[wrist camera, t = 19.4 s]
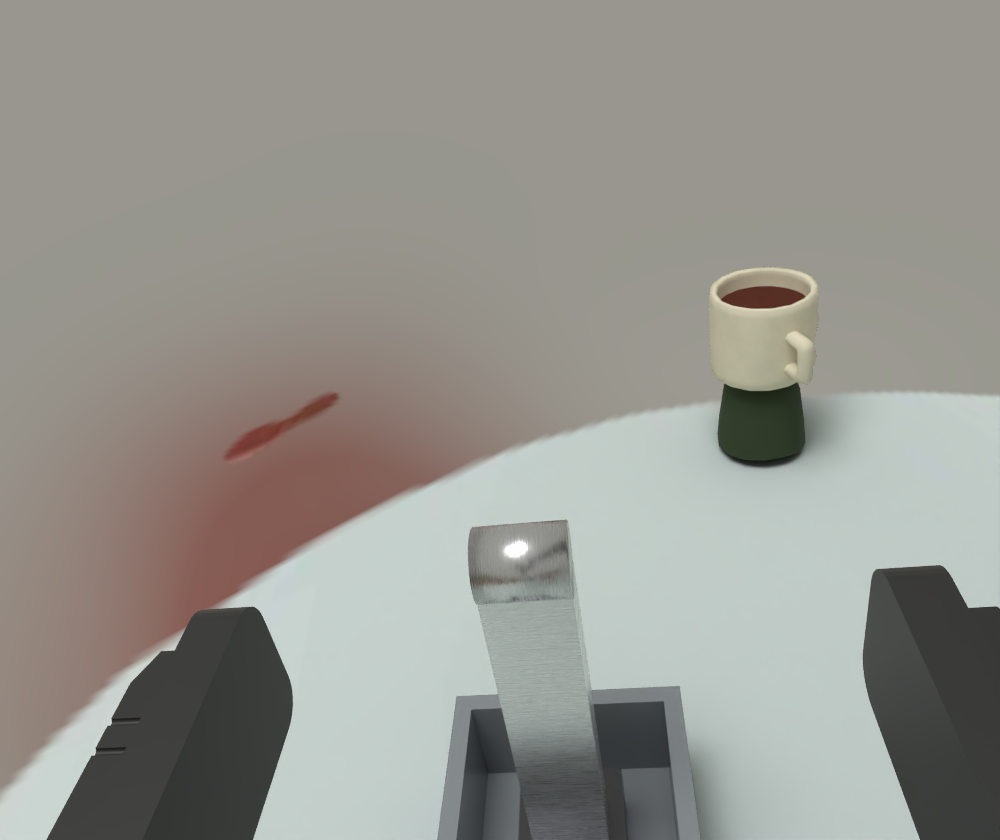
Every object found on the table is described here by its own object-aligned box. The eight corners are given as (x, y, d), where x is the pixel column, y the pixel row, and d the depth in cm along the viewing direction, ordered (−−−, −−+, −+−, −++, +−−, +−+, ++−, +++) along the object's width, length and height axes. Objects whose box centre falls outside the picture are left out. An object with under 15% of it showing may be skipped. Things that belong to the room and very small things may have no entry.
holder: (477, 771, 44) (456, 696, 40) (684, 764, 42) (679, 686, 39) (454, 1000, 35) (425, 927, 32) (715, 1002, 33) (712, 926, 30)
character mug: (847, 468, 59) (862, 303, 52) (758, 499, 58) (761, 333, 51) (762, 398, 68) (764, 249, 61) (683, 423, 67) (677, 274, 60)
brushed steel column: (529, 809, 40) (456, 489, 30) (625, 806, 40) (585, 478, 29) (526, 922, 36) (438, 594, 25) (634, 921, 35) (589, 584, 25)
